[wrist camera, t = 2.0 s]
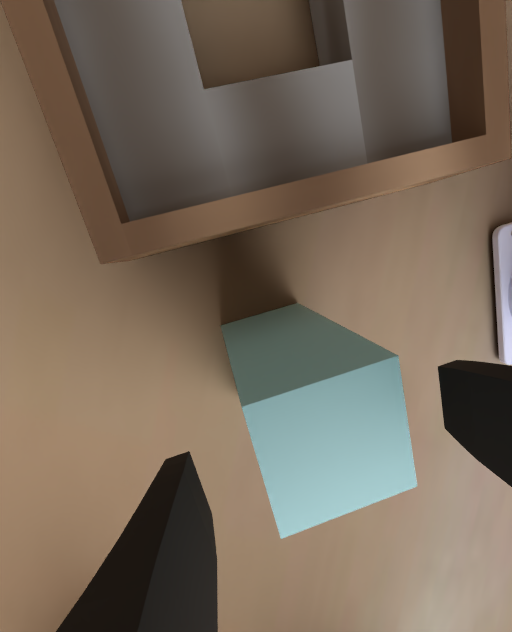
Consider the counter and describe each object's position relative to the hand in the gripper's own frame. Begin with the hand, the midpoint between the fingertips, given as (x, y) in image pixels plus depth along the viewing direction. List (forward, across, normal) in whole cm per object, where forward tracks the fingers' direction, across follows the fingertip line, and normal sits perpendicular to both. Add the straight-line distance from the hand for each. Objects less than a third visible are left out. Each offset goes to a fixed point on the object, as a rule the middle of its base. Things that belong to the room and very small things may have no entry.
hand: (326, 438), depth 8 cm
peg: (+8, 0, 0) cm, 8 cm away
